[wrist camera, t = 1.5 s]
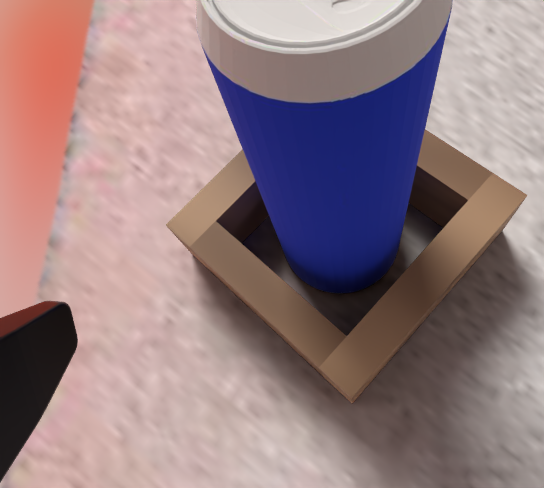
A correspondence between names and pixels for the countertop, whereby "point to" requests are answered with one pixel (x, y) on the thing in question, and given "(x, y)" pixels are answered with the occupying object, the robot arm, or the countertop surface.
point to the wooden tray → (401, 295)
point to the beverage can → (329, 120)
